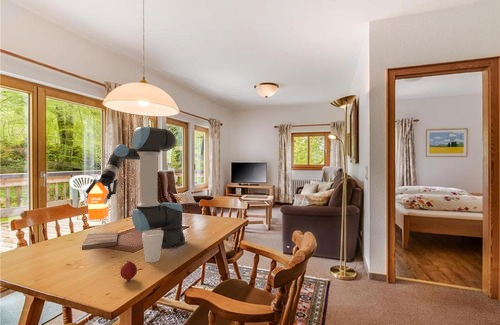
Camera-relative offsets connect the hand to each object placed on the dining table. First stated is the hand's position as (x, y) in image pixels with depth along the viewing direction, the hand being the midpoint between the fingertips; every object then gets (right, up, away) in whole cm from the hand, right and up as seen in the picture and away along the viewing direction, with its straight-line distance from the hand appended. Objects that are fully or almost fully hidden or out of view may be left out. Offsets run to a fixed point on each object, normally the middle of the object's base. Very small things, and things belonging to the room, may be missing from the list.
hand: (95, 203), depth 140 cm
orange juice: (0, -9, +3) cm, 10 cm away
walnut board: (+1, -22, +4) cm, 23 cm away
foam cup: (+40, -24, -21) cm, 51 cm away
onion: (+39, -24, -42) cm, 62 cm away
